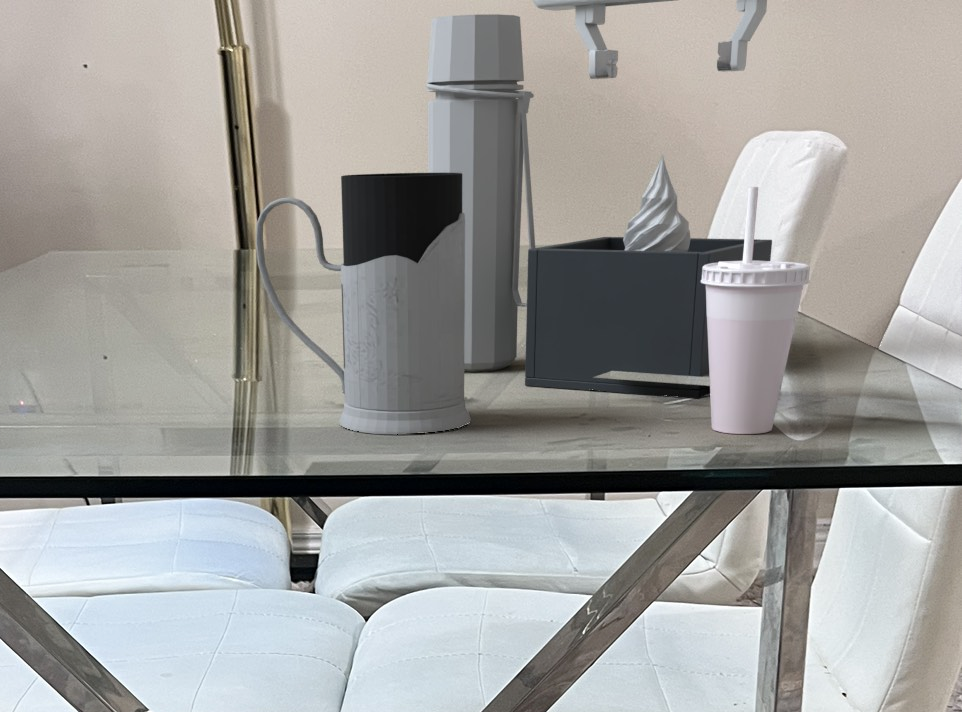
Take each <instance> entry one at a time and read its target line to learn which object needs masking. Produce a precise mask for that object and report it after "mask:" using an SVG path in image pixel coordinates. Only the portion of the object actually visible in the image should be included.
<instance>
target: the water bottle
mask: <svg viewBox="0 0 962 712" xmlns="http://www.w3.org/2000/svg"><path fill="white" fill-rule="evenodd" d="M430 26H431V27H430V37H429V49H428V50H429V52H428V63H427V75H426V86H425V87H426V92H428V93H435V99H433V100H431V101H429V102H427V173H462V213H464V214H465V337H464V373H465V372H467V373H468V372H471V373H474V372H476V373H477V372H491V371H496V370H497V371H498V370H502V369H504V368H506V367H508V366H509V365H512V364H513V362H514V361H515V359H517V355H518V354H517V351H518V313H519V311H518V309H519V308H518V307H521V308H522V307H523V308H524V307H525V308H526V307H527V300H526V302H523V301H522V299H521V295H520V291H519V274H520V252H521V250H520V249H521V229H522V228H521V227H522V225H521V224H522V203H523V202H522V201H523V199H522V198H523V176H524V183H525V184H524V187H525V199H526V200H525V202H526V203H525V204H526V216H527V217H526V219H527V229H528V231H527V232H528V250H529V249H532V248H536V237H535V235H536V234H535V223H534V207H533V193H532V179H531V178H532V177H531V164H530V163H531V162H530V151H529V150H530V149H529V135H528V121H527V114H529V113H528V112H529V108H530V102H531V99H534V97H535V95H534V93H533V92H532V91H528V90H524V87H525V86H524V84H518V82H524V81H525V74H524V58H523V56H524V55H523V42H522V25H521V16H519V15H515V14H500V13H499V14H498V13H497V14H492V13H491V14H459V15H447V16H437V17H434V18H431V25H430ZM523 173H524V175H523Z"/></svg>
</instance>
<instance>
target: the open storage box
mask: <svg viewBox="0 0 962 712" xmlns="http://www.w3.org/2000/svg"><path fill="white" fill-rule="evenodd" d="M623 238H624V236H602V237H595V238H589V239H588V238H587V239H583V240H575V241H570V242H565V243H557V244H551V245H545V246H539V247H535V248H532V249H529V248H528V250H527V280H526V281H527V285H526V286H527V287H526V301H527V306H526V325H525V327H526V328H525V330H526V331H525V362H524V363H525V367H524V368H525V370H524V371H525V372H524V386H526V387H539V388H551V389H563V390H577V391H590V390H592V389H593V390H600V391H599V392H603V391H606V392H605V393H619V394H630V395H644V396H656V395H657V396H658V397H665V396H664V395H667V396H666V397H669V396H678V397H677V398H683V397H687V398H686V399H697V400H698V399H701V398H703V397H705V396H708V395H710V385H705V384H693V383H677V382H676V383H675V382H664V381H651V380H650V381H648V380H637V379H636V380H634V379H620V378H619V379H618V378H607V377H598V376H602V375H604V374H607V373H609V372H625V373H637V374H650V375H651V374H653V375H667V376H668V375H669V376H680V377H681V376H682V377H697V378H701V377H703V376H706V375H709V353H708V330H707V311H706V284H702V283H701V280H702V267H703V266H704V265H706V264H711V263H719V261H743V251H744V239H745V238H702V237H701V238H700V237H699V238H697V237H696V238H695V237H694V238H693V237H690V238H691V240H690V244H689V249H688V252H676V251H630V250H625V245H624V242H623ZM772 246H773V240H772V239H759V238H758V239H755V238H754V245H753V257H752V261H772V260H771V259H772V248H773V247H772ZM586 389H587V390H586ZM589 389H590V390H589ZM662 395H663V396H662Z"/></svg>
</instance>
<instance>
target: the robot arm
mask: <svg viewBox="0 0 962 712" xmlns="http://www.w3.org/2000/svg"><path fill="white" fill-rule="evenodd" d="M674 1H678V0H532V2H533V4H534V5H535V6H536V8H537V9H540V10H545V11H553V12H557V11H558V12H560V11H569V10H570V11H572V10H575V13H574V15H575V16H574V17H575V18H574V25H575V27H576V30H577V31H578V33H579V36H580V37H581V40H582V42H583V44H584V47H585V48H586V50H587V51H589V53H588V55H589V57H588V66H589V67H588V76H589V79H590V80H605V79H616V78H617V76H618V70H619V68H618V66H617V64H618V62H619V50H615V49H614V50H613V49H608V48H607V45H606V43H605V41H604V38H603V35H602V33H601V31H600V29H599V26H603V25H605V24H606V9H607V7H617V6H618V7H619V6H628V5H629V6H630V5H639V4H652V3H654V4H655V3H663V2H674ZM767 6H768V0H736V9H735V10H736V11H737V12H740V13H743V14H742V16H741V18H740V19H739V21H738V24H737V26H736V27H735V30H734V32H733V33H732V35H731V37H730V39H729V40H725V41H718V42H717V43H718V44H717V54H718V58H717V60H716V69H717V72H722V73H724V72H725V73H726V72H743V71H745V69H746V67H747V58H748V57H747V56H748V43H749V42H750V41H751V39H752V38H753V36H754V34H755V32H756V31H757V30H758V27H759V25H760V24H761V22H762V20H763V18H764V17H765V15H766V13H767Z"/></svg>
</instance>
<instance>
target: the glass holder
mask: <svg viewBox="0 0 962 712" xmlns="http://www.w3.org/2000/svg"><path fill="white" fill-rule="evenodd" d="M340 182H341V183H340V184H341V185H340V186H341V187H340V188H341V189H340V190H341V216H342V217H341V218H342V219H341V220H342V251H343V252H342V253H343V254H342V256H343V257H342V258H343V263H341V264H333V263H330V262H328V260H327V259H326V256H325V250H324V236H323V231H322V225H321V224H320V221H319V217H318V215H317V214H316V212H315V211H314V210H313V209H312V207H311V206H310V205H309V204H307V203H306V202H304V200H301V199H299V198H295V197H280V198H278V199H276V200H273V201H271V202H269V203H268V204H267V205H266V206H265V207H264V208H263V209H262V210H261V212H260V214H259V217H258V219H257V221H256V224H255V240H254V241H255V249H256V250H255V251H256V252H255V253H256V261H257V266H258V269H259V274H260V277H261V280H262V284H263V287H264V289H265V291H266V294H267V296H268V298H269V301H270V302H271V304H272V307H273V308H274V310H275V312H276V314H277V315H278V318H279V319H280V321H282V322H283V324H285V326H286V327H287V328H288V329H289V330H290V332H292V333H293V334H294V335H295V336H296V337H297V338H298V339H299V340H300V341H301V342H302V343H303V344H304V345H305V346H306V347H308V348H309V349H310V350H311V351H312V352H313V353H314V354H315V355H316V356H317V357H319V358H320V359H321V360H322V362H324V363H325V364H326V365H327V366H329V368H331V369H332V371H334V373H335V374H336V375H337V376H338V378H339V379H340V384H341V392H342V393H343V394H344V404H343V411H342V413H341V415H340V417H339V419H338V425H339V424H340V425H342V426H343V427H345V428H347V429H346V430H348V429H350V430H349V431H352V430H353V431H352V432H357V431H359V432H358V433H364V434H373V435H374V434H375V435H397V434H398V435H404V434H403V433H418V432H424V433H425V432H435V433H437V432H436V431H443V432H445V431H444V430H449V429H454V428H457V427H460V426H462V425H465V424H467V423H469V422H470V421H471V422H472V418H471V415H470V413H469V411H468V409H467V406H466V400H465V371H464V337H465V214H464V213H462V173H428V172H395V173H394V172H392V173H389V172H388V173H361V174H345V175H341V176H340ZM283 204H291V205H293V206H297V207H298V208H299V209H300V210H302V211H303V212H304V214H305V215H306V216H307V217H308V219H309V220H310V223H311V226H312V229H313V234H314V239H315V240H314V241H315V252H316V257H317V259H318V262H319V264H320V265H321V266H322V267H323V268H324V269H326V270H329V271H334V272H340V276H341V277H340V282H341V283H340V284H341V315H342V345H343V346H342V349H343V350H342V351H343V353H342V354H343V368H342V367H341V366H340V365H339V364H338V363H337V362H336V361H335V360H334V359H333V358H332V357H331V356H330V355H329V354H327V352H326V351H324V349H322V348H321V347H320V346H319V345H318V344H316V343H315V342H314V341H313V340H312V339H311V338H310V337H309V336H308V335H307V334H305V332H303V330H302V329H301V328H300V327H299V326H298V325H297V324H296V323H295V322H294V320H293V319H292V318H291V317H290V316H289V314H288V313H287V311H286V310H285V308H284V306H283V305H282V303H281V302H280V299H279V298H278V295H277V293H276V291H275V289H274V286H273V284H272V282H271V278H270V275H269V272H268V268H267V263H266V258H265V249H264V240H263V239H264V224H265V222H266V219H267V217H268V214H269V213H270V212H271V211H272V210H274V208H276V207H279V206H281V205H283ZM340 425H339V426H340ZM343 427H342V428H343ZM345 428H344V429H345ZM454 430H455V429H454ZM449 431H450V430H449ZM425 434H426V433H425Z"/></svg>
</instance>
